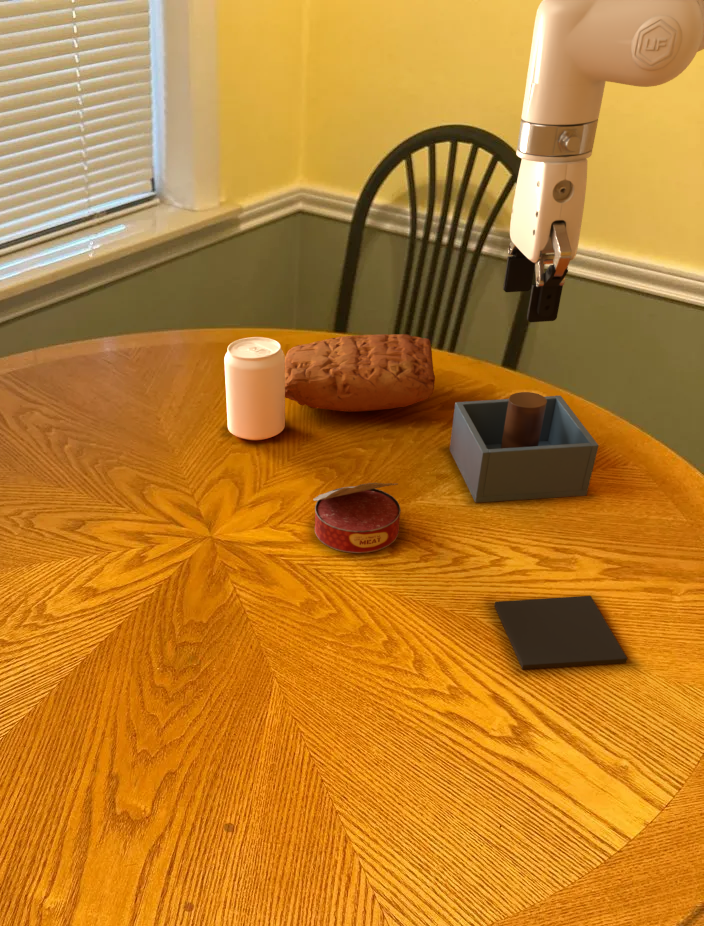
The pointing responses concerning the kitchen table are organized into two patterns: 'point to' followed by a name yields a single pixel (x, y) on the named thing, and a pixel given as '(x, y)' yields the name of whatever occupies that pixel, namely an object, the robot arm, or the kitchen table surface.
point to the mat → (559, 632)
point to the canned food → (357, 518)
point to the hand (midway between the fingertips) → (528, 305)
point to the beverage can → (255, 388)
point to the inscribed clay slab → (360, 372)
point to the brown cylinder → (523, 420)
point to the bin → (521, 453)
